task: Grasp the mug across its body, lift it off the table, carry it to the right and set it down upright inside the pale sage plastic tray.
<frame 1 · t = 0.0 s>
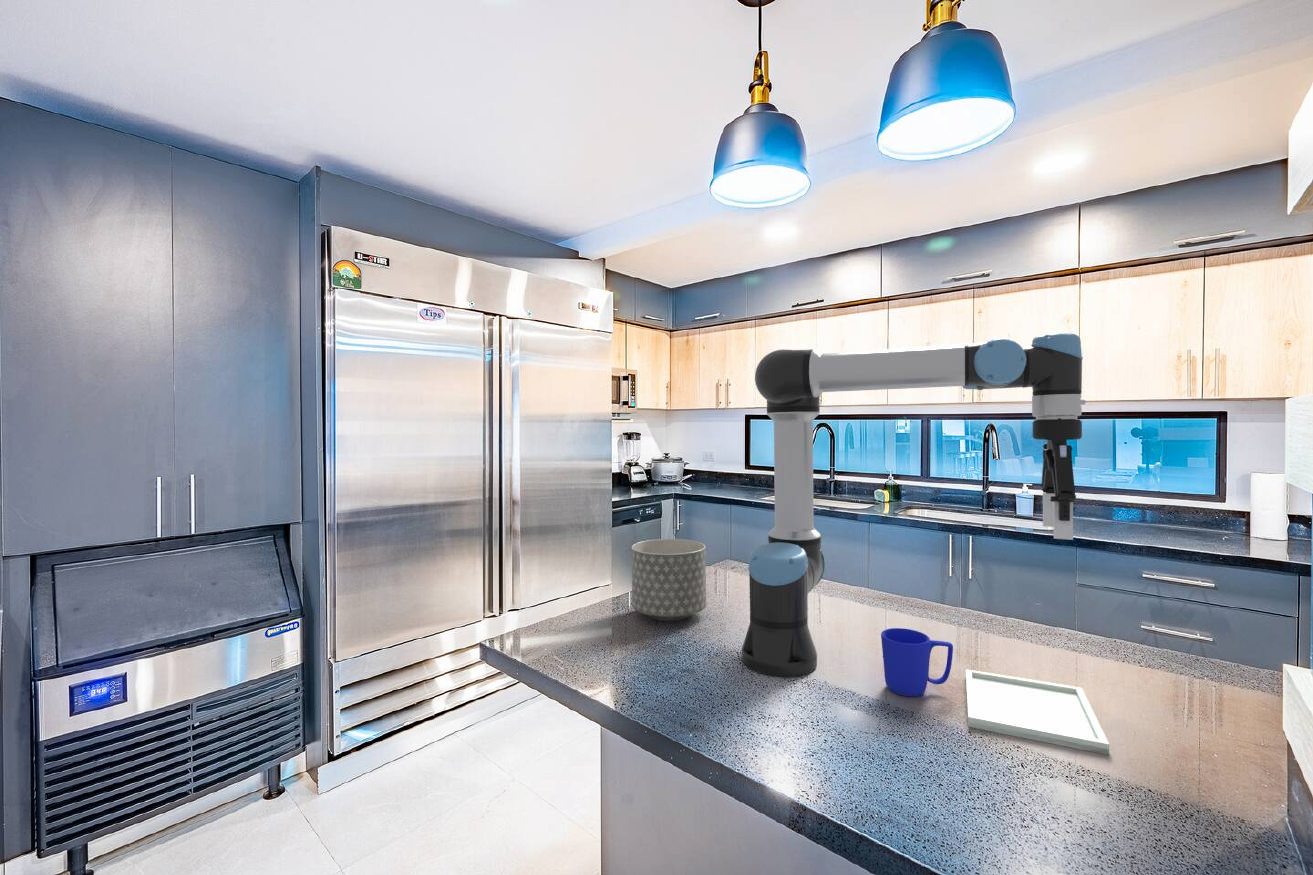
hand: (1056, 532, 106), 28 cm above the countertop, fingers open, 13 cm apart
tray: (1027, 710, 96), on the countertop
mug: (916, 691, 104), on the countertop
planter: (669, 616, 147), on the countertop
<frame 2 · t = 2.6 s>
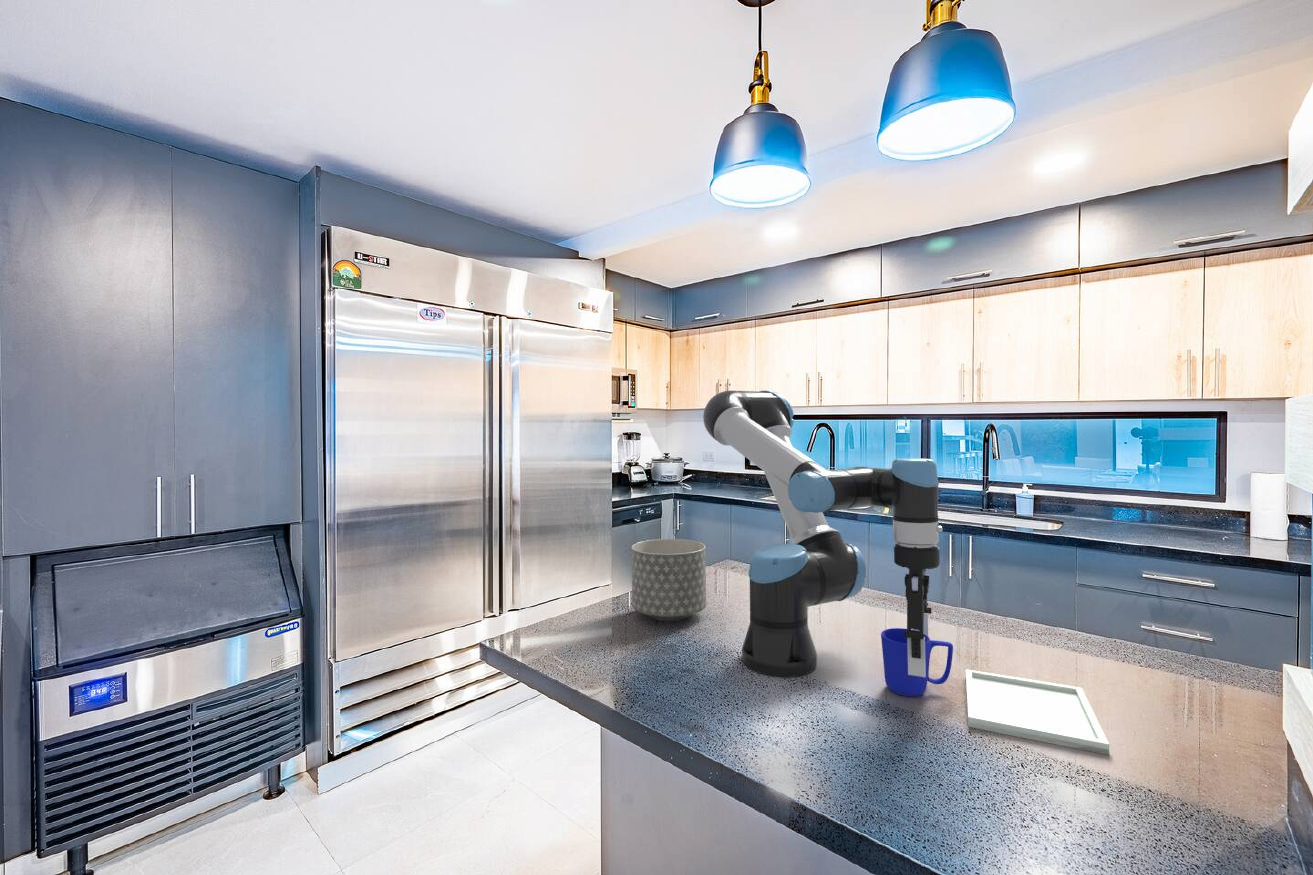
hand: (919, 661, 103), 6 cm above the countertop, fingers open, 13 cm apart
nothing on the countertop moved.
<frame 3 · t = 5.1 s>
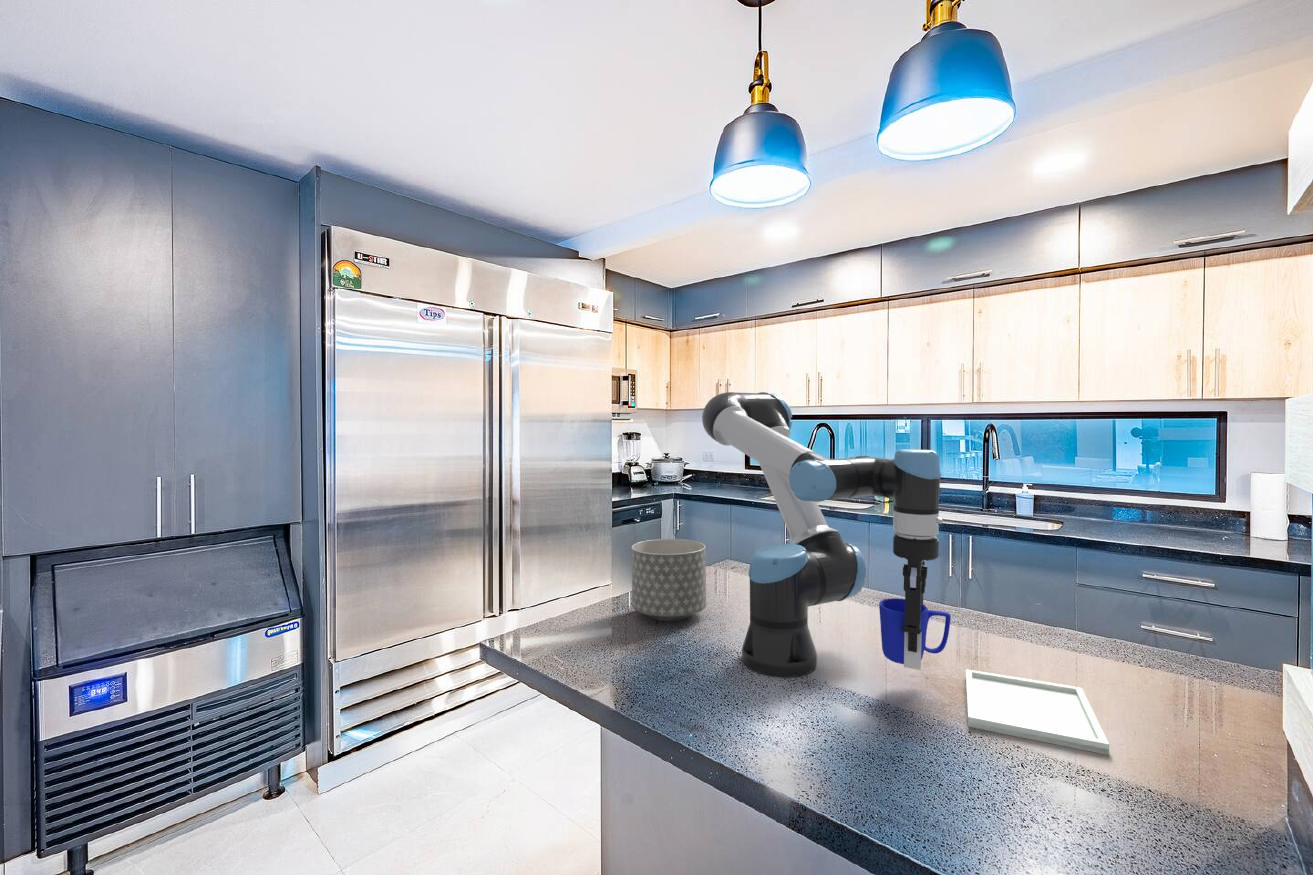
hand: (913, 659, 104), 6 cm above the countertop, fingers closed on mug, 7 cm apart
mug: (913, 660, 105), point 5 cm above the countertop, touching gripper
everything else where it was.
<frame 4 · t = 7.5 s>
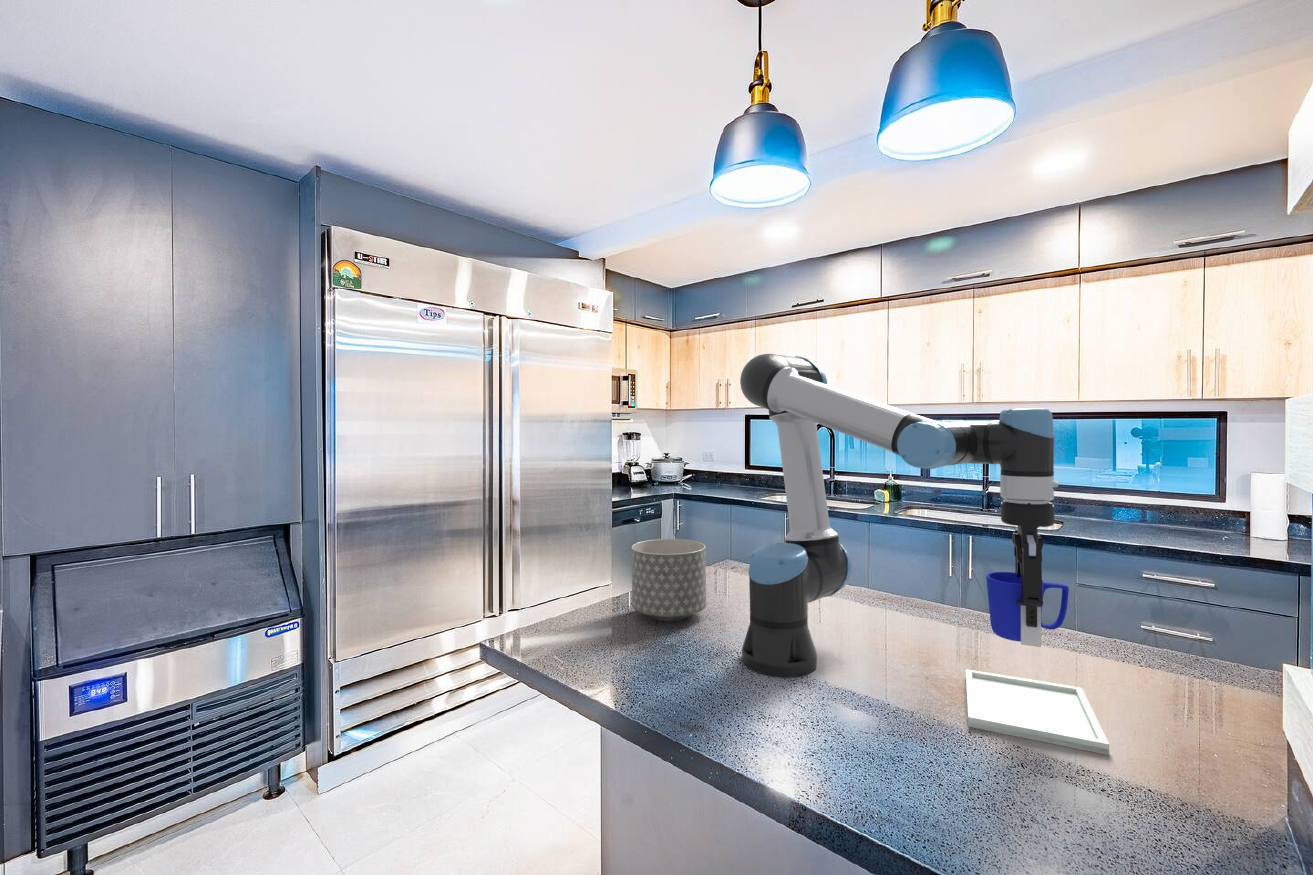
hand: (1028, 636, 96), 13 cm above the countertop, fingers closed on mug, 7 cm apart
mug: (1027, 638, 96), point 12 cm above the countertop, touching gripper
everything else where it was.
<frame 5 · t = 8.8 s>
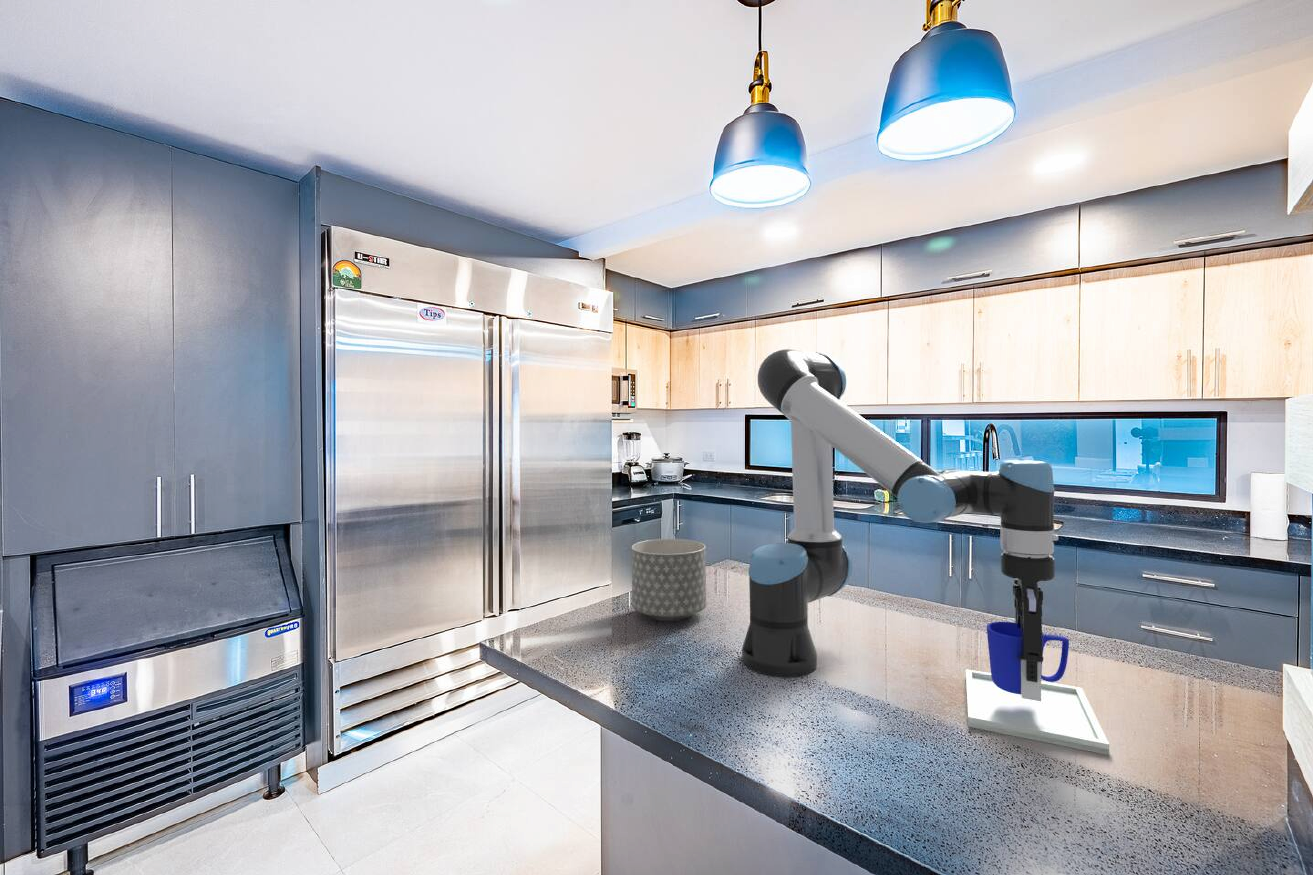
hand: (1028, 689, 96), 4 cm above the countertop, fingers closed on mug, 7 cm apart
mug: (1027, 690, 96), point 3 cm above the countertop, touching gripper
everything else where it was.
when the fingers open (2 cm above the countertop, at t = 10.0 s): mug stays where it is, resting on tray.
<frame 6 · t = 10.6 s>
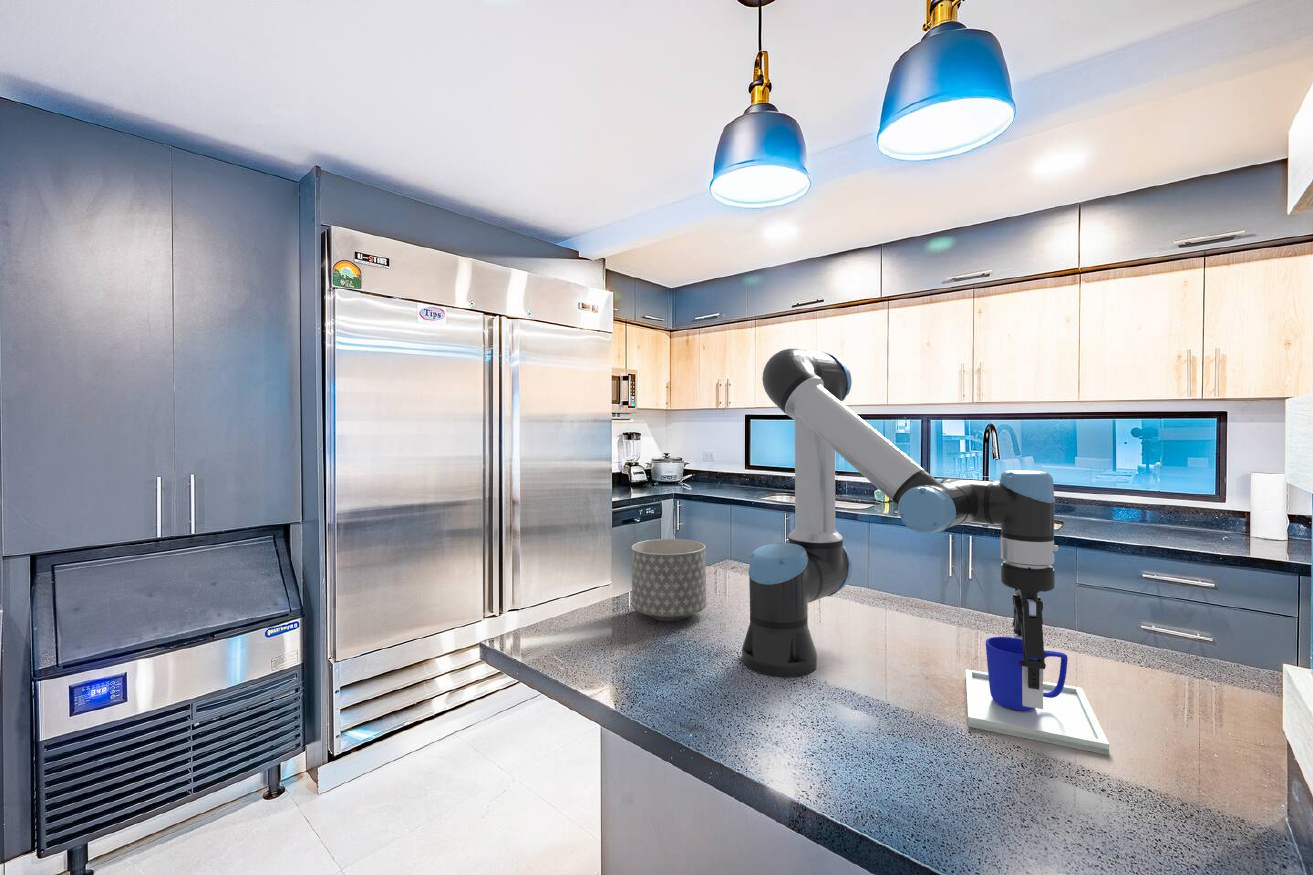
hand: (1027, 689, 96), 4 cm above the countertop, fingers open, 13 cm apart
mug: (1026, 705, 96), point 1 cm above the countertop, touching tray
everything else where it was.
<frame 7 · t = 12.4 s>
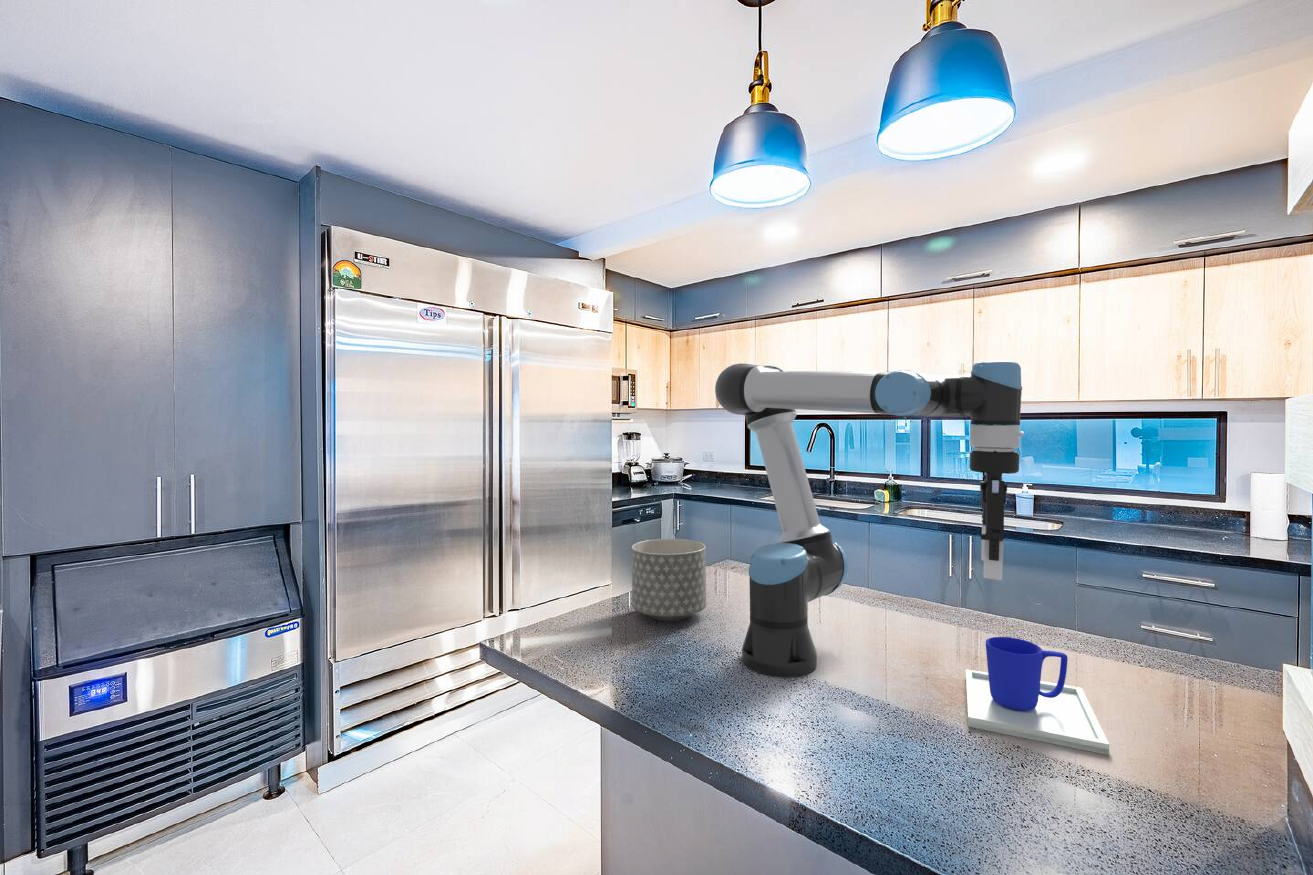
hand: (990, 569, 101), 23 cm above the countertop, fingers open, 13 cm apart
nothing on the countertop moved.
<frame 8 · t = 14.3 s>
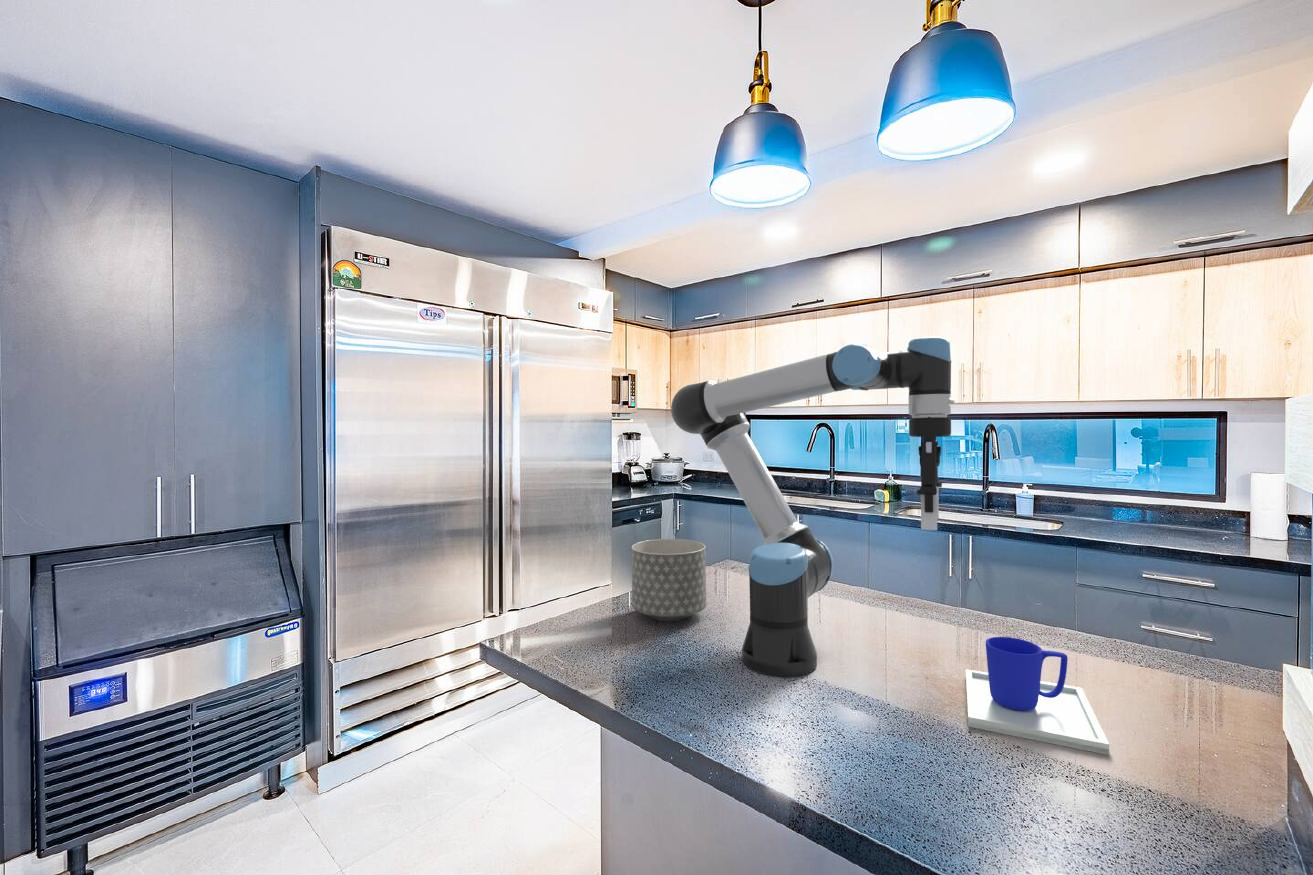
hand: (930, 524, 113), 29 cm above the countertop, fingers open, 13 cm apart
nothing on the countertop moved.
at the end: mug inside the target area on the tray (0.5 cm from its centre), point 0.6 cm above the tray's base; mug tilted 0°; the gripper is holding nothing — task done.
